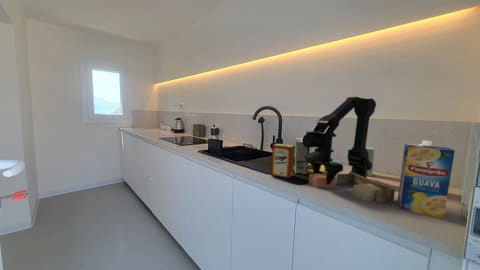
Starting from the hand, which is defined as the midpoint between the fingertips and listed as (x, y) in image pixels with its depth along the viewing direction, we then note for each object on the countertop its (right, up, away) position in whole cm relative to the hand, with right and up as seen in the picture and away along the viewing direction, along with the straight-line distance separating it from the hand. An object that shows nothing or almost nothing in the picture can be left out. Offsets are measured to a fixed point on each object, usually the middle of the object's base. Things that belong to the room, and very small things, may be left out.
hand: (321, 180), depth 88 cm
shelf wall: (+15, -3, -6) cm, 16 cm away
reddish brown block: (0, -2, 0) cm, 2 cm away
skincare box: (+31, -1, +19) cm, 36 cm away
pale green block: (+13, -4, -12) cm, 18 cm away
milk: (+43, -4, -2) cm, 43 cm away
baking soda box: (-15, 0, +11) cm, 19 cm away
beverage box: (+25, -5, -20) cm, 33 cm away
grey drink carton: (-4, 0, +19) cm, 19 cm away
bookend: (+11, -2, +3) cm, 11 cm away
